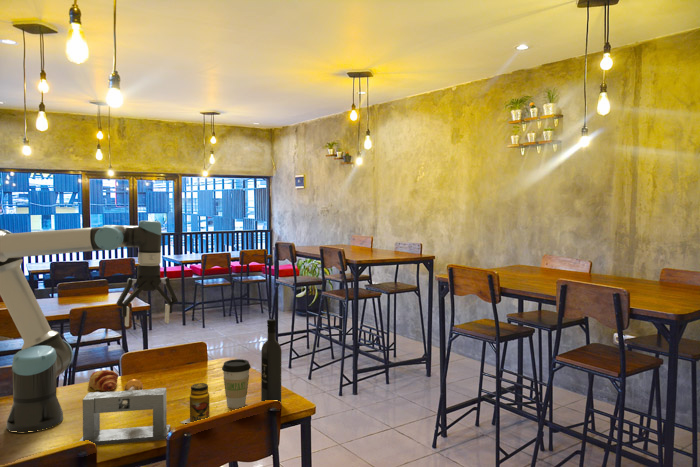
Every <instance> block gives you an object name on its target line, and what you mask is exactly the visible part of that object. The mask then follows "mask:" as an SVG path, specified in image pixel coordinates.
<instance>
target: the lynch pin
mask: <svg viewBox="0 0 700 467" xmlns="http://www.w3.org/2000/svg"><path fill="white" fill-rule="evenodd" d="M143 387H144V385H143V383H142V382H141V380H139V379H137V378H135V379H130V380H128V381H127V383H126V384H125V386H124V391H131V390H144V389H143ZM129 403H130V399H122V401H121V403H120V404H121V406H122V407H126V406H128V404H129Z"/></svg>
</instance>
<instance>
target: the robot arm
mask: <svg viewBox="0 0 700 467" xmlns="http://www.w3.org/2000/svg"><path fill="white" fill-rule="evenodd" d="M162 235H163V234H162V223H161V222H160V221H157V220H140V221H139V222H138V225H118V224H117V225H116V224H104V225H102V226H97V227H95V226H94V227H82V228H68V229H57V230H42V231H39V230H38V231H27V232H11V231H9V230H7V229H4V228H0V297H1V299H2V301H3V304H4V305H5V307H6V309H7V310H8V313H9V315H10V317H11V318H12V321H13V323H14V325H15V327H16V329H17V332H19V335H20V337H21V339H22V341H23V345H22V346H21V350H19V351H17V352H16V353H14V355H13V357H12V364H11V369H12V397H13V398H12V404H11V409H10V411H9V414H8V417H7V420H6V430H7V429H8V430H10V431H17V432H28V431H37V430H42V429H45V430H47V429H46V428H49V427H51V428H53V427H52V426H54V427H56V426H57V425H56V424H58V423H59V424H60V423H62V422H61V421H63V419H64V412H63V409H62V407H61V404H60V402H59V399H58V397H57V378H58V377H60V375H62V374H63V373H64V372H65V371H67V369H69V367H70V365H71V363H72V361H73V358H74V352H73V348H72V346H71V345H70V344H69V342H67V341H66V340H64V339H62V337H61V334H60V332H58V331H56V330H53V329H51V326H50V325H49V322H48V320H47V318H46V317H45V314H44V312H43V311H42V309H41V307H40V304H39V302H38V300H37V298H36V296H35V294H34V292H33V290H32V288H31V286H30V284H29V282H28V280H27V278H26V276H25V273H24V272H23V270H22V268H21V265H22V263H23V257H24V258H25V257H27V258H28V257H36V256H48V255H56V254H57V255H59V254H60V255H61V254H71V253H78V252H79V253H81V252H93V251H94V252H95V251H113V250H117V249H118V248H137V264H138V265H137V270H136V271H137V277H136V279H135V278H130V277H129V278H127V281H126V285H125V287H124V288H123V290H122V292H121V294H120V296H119V298H118V300H117V301H116V303H115V304H116V305H117V306H118V307H121V316H122V317H123V318H124V326H125V327H126V328H127V327H129V326H130V307H129V305H130V304H131V303H132V302H133V300H135V299H136V297H137V296H138V295H139V294H140V293H141V292H142V291H143V292H149V291H150V292H153V291H156V292H158V294H159V295H160V296H161V297H162V299H163V300H165V302H166V303H165V304H164V305H165V306H164V323H166V324H169V323H170V314H173V305H174V304H177V303H178V302H179V300H178V298H177V296H176V294H175V292H174V290H173V288H172V286H171V284H170V278H169V277H167V276H165V277H161V265H160V264H161V261H162V260H161V257H162V256H161V254H162V253H161V251H162ZM161 283H162V284H163V285H164V286H165V288H166V290H167V292H168V295H169V297H170V298H169V297H168V295H167V294H166V293H165V292H164V291H163V289H162V288H161V287H160V284H161ZM135 284H137V286H136V287H135V288H134V290H133V291H132V293H131V294H130V295H129V292H130V291H131V289H132V286H134V285H135ZM127 296H128V297H127ZM126 297H127V298H126ZM59 424H58V425H59ZM55 425H56V426H55ZM49 429H50V428H49ZM8 430H7V431H8ZM42 431H43V430H42ZM37 432H38V431H37Z"/></svg>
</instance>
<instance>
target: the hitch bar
mask: <svg viewBox="0 0 700 467" xmlns="http://www.w3.org/2000/svg"><path fill="white" fill-rule="evenodd" d="M122 399H130V402H129V404H128V406H126V407H122V406H121V404H120V403H121V401H122ZM148 410H152V425H148V426H136V427H123V428H110V429H108V428H107V429H101V425H100V424H101V419H100V418H101V415H100V414H103V413H104V414H105V413H120V412H131V411H133V412H136V411H148ZM170 431H171V424H167V387H159V388H157V387H156V388H150V389H142V390H131V391H125V390H118V391H117V390H116V391H115V390H114V391H101V392H100V391H95V392H93V391H92V392H91V391H90V392H87V394H86V395H85V396H84V398H83V399H82V437H81V438H80V439H79V441H85V440H89V441H91V442H93V443H95V444H96V445H95V446H103V445H104V446H105V444H107V445H117V444H129V443H142V442H152V441H154V442H155V441H166V437H167V433H168V432H169V433H170ZM167 438H168V437H167Z"/></svg>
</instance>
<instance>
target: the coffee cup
mask: <svg viewBox="0 0 700 467" xmlns="http://www.w3.org/2000/svg"><path fill="white" fill-rule="evenodd" d="M250 369H251V364H250V362H249V360H246V359H241V358H239V359H238V358H236V359H229V360H226V361H225V362H224V363H223V365H222V367H221V370H222V372H223V384H224V392H225V398H226V406H227V407H228V409H240V408H239V407H241V408H244V407H245V406H246V401H247V395H248V388H249V381H250V380H249V379H250ZM243 406H244V407H243Z"/></svg>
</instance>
